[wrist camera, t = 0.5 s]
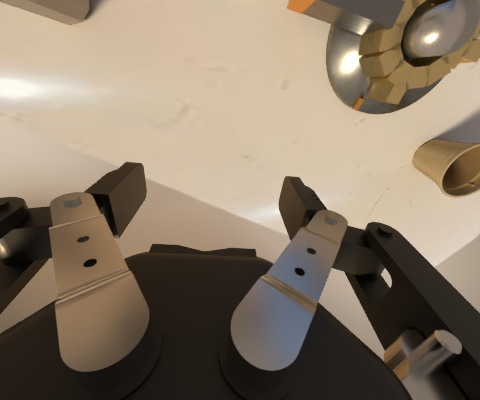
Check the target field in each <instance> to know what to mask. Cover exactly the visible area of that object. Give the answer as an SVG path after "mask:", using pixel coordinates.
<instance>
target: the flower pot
mask: <svg viewBox="0 0 480 400" xmlns="http://www.w3.org/2000/svg"><path fill="white" fill-rule="evenodd" d="M413 164H414V166H415V168H416V169H418V170H419V171H420V172H422V173H423V174H424V175H426V176H427V177H428V178H430V179H431V180H432V181H434V182H435V183H436V184H437V185H438V187H439V188H440V190H441V191H442V192H443V193H444V194H445V195H447V196H449V197H455V198H457V197H464V196H468V195H471V194H473V193H476V192H478V191H479V190H480V143H473V144H470V143H462V142H455V141H447V140H441V139H435V140H431V141H428V142H427V143H426V144H424V145H423V146H421V147H420V148H419V149H418V150H417V151H416V153H415V155H414V157H413Z"/></svg>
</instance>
